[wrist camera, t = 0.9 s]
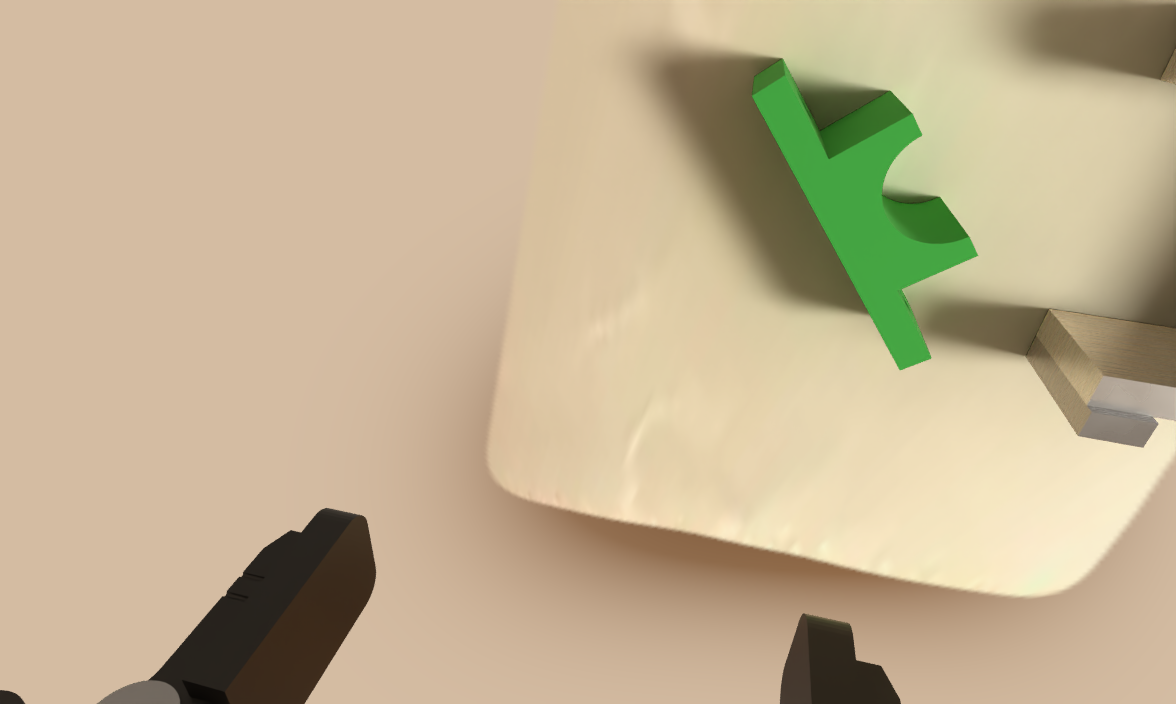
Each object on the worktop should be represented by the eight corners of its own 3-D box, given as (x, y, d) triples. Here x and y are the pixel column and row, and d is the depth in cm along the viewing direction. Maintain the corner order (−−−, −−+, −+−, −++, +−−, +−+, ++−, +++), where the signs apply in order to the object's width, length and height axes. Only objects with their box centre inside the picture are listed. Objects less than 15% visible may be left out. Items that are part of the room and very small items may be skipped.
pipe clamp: (976, 274, 26) (1012, 329, 22) (881, 314, 28) (899, 372, 24) (853, 10, 23) (870, 22, 19) (753, 74, 24) (750, 97, 21)
